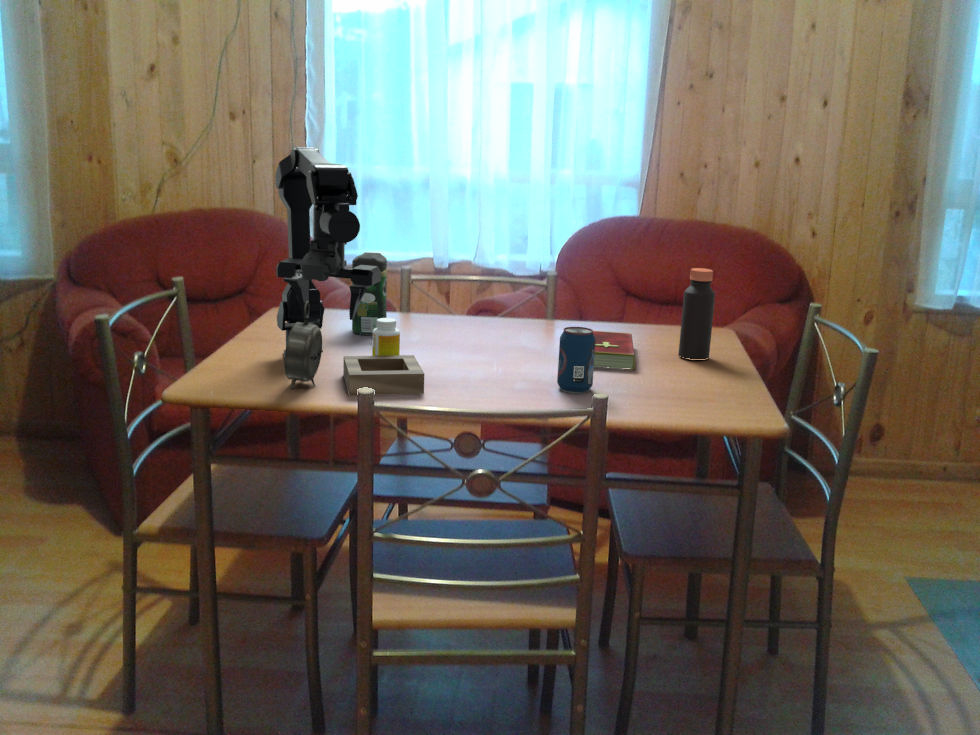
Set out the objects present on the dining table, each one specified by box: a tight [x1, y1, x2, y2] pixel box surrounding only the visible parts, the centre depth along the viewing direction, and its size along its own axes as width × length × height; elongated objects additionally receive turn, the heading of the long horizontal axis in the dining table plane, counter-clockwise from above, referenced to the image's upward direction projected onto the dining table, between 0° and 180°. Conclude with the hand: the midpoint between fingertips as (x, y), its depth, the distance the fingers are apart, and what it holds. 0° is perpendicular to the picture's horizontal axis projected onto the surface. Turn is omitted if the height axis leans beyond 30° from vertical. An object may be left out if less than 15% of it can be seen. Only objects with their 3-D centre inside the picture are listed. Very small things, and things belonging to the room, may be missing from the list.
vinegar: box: [678, 267, 716, 359], centre depth 225 cm, size 7×7×20 cm
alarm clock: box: [283, 301, 324, 391], centre depth 191 cm, size 11×5×16 cm, turn 174°
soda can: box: [556, 326, 596, 394], centre depth 197 cm, size 7×7×12 cm
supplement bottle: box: [371, 317, 401, 356], centre depth 207 cm, size 6×6×10 cm
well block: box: [343, 354, 425, 397], centre depth 196 cm, size 14×14×4 cm
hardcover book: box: [593, 330, 636, 370], centre depth 225 cm, size 12×21×4 cm, turn 174°
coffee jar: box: [351, 252, 388, 336], centre depth 238 cm, size 10×8×19 cm
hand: (328, 317), depth 190 cm, fingers open, 9 cm apart
